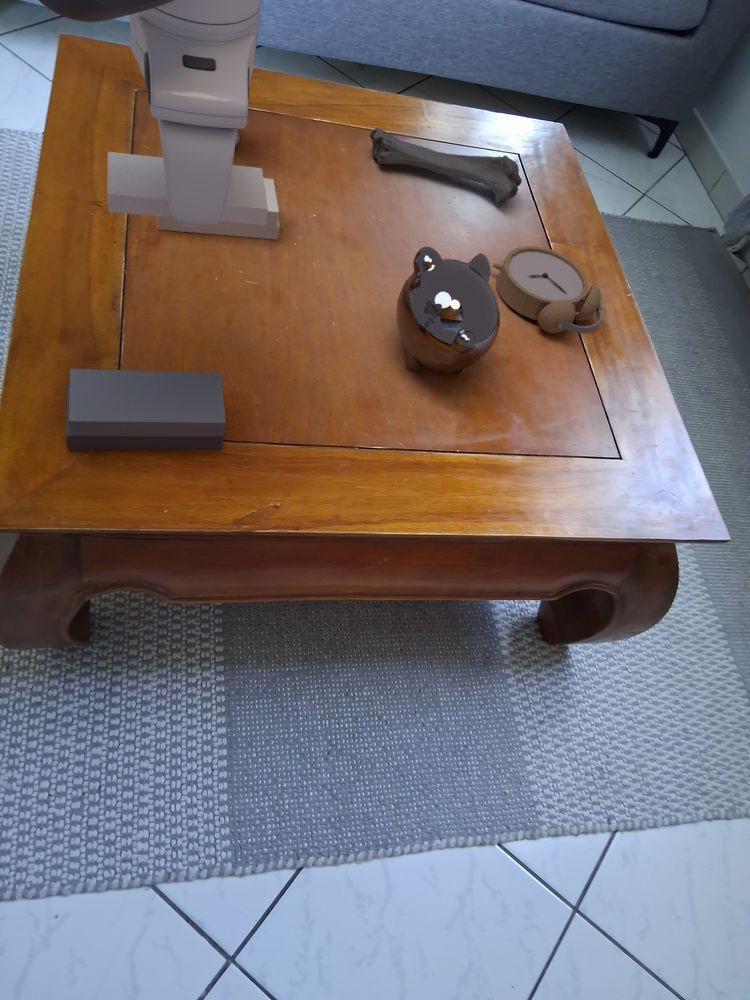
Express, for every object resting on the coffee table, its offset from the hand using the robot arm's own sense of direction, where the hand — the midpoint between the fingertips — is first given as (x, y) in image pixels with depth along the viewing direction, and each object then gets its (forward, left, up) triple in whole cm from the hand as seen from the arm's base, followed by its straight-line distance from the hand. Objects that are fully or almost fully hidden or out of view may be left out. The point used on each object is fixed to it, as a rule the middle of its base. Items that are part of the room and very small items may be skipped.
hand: (187, 195), depth 66 cm
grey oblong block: (+5, +20, -18) cm, 27 cm away
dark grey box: (-4, -11, -18) cm, 21 cm away
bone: (+37, +32, -18) cm, 52 cm away
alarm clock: (+46, +9, -18) cm, 50 cm away
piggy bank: (+28, 0, -18) cm, 34 cm away
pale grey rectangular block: (0, 0, 0) cm, 0 cm away
